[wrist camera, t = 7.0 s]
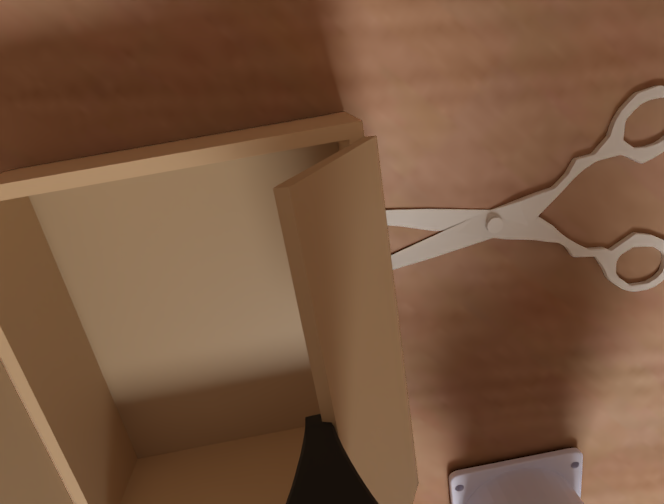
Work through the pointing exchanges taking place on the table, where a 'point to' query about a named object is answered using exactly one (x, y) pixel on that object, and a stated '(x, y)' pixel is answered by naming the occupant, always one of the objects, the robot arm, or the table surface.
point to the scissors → (537, 211)
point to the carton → (163, 315)
